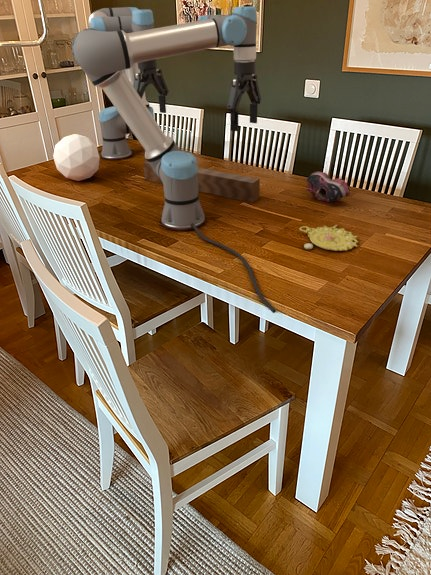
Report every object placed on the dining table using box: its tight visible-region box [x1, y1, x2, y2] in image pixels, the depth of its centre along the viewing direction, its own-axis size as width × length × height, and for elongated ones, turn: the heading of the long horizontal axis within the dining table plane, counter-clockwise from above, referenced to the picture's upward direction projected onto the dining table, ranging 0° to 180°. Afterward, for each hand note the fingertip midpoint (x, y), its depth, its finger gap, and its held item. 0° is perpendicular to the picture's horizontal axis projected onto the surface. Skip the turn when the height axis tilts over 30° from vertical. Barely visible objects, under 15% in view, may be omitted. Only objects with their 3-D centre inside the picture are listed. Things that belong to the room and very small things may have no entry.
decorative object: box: [299, 224, 359, 252], centre depth 141 cm, size 21×2×20 cm
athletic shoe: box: [304, 171, 351, 203], centre depth 169 cm, size 11×22×12 cm
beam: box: [142, 160, 261, 204], centre depth 182 cm, size 54×5×8 cm, turn 57°
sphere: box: [52, 133, 101, 182], centre depth 194 cm, size 19×20×20 cm
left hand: (152, 115), depth 180 cm, fingers open, 13 cm apart
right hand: (244, 126), depth 160 cm, fingers open, 13 cm apart
